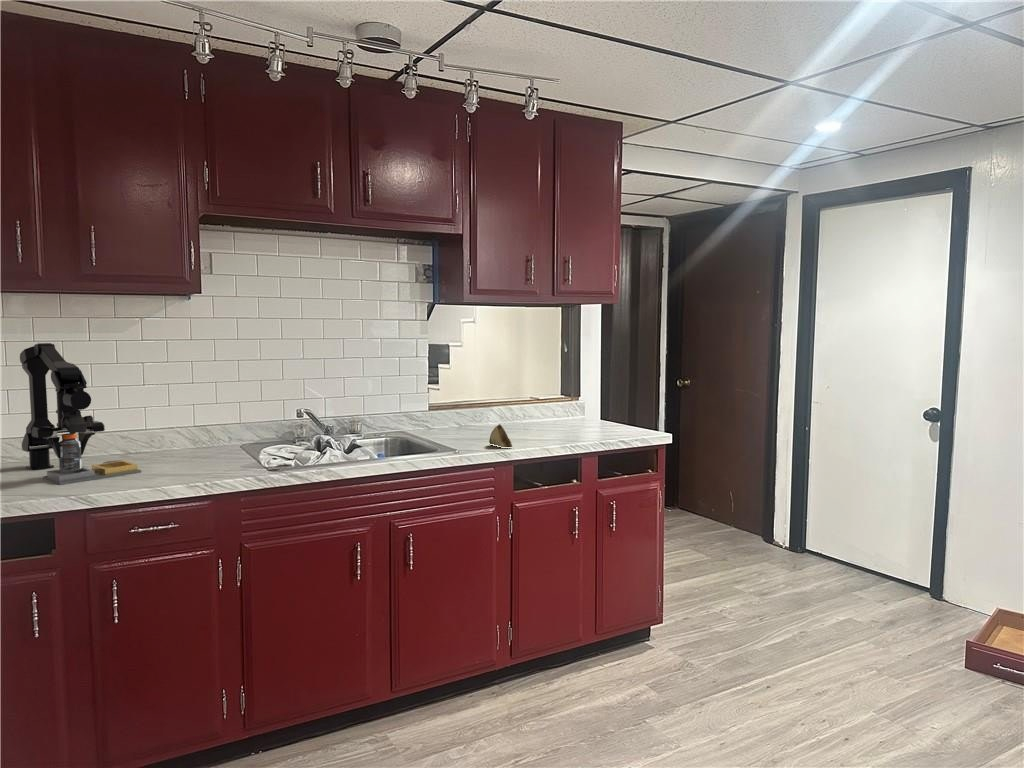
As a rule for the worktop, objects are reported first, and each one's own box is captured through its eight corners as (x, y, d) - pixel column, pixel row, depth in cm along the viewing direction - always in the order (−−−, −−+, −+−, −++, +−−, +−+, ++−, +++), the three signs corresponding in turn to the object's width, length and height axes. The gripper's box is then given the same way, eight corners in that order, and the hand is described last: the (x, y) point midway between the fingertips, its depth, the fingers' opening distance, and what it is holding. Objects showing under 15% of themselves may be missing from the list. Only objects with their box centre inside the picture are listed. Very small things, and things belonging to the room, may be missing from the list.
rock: (482, 439, 293) (486, 440, 283) (494, 422, 294) (498, 422, 284) (503, 455, 294) (508, 456, 284) (515, 438, 295) (520, 438, 286)
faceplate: (43, 478, 225) (43, 470, 225) (123, 467, 244) (123, 459, 244) (59, 485, 217) (59, 476, 217) (141, 472, 236) (141, 464, 236)
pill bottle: (85, 467, 228) (84, 432, 227) (75, 471, 222) (73, 435, 221) (66, 467, 228) (65, 432, 227) (55, 471, 222) (53, 435, 221)
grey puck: (98, 467, 244) (98, 463, 244) (118, 463, 250) (118, 459, 250) (109, 470, 240) (109, 465, 240) (130, 466, 246) (130, 461, 246)
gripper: (43, 412, 211) (46, 464, 213) (111, 406, 226) (113, 455, 227) (29, 408, 218) (32, 459, 219) (96, 403, 233) (98, 451, 234)
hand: (70, 456), depth 225 cm, fingers closed on pill bottle, 6 cm apart
